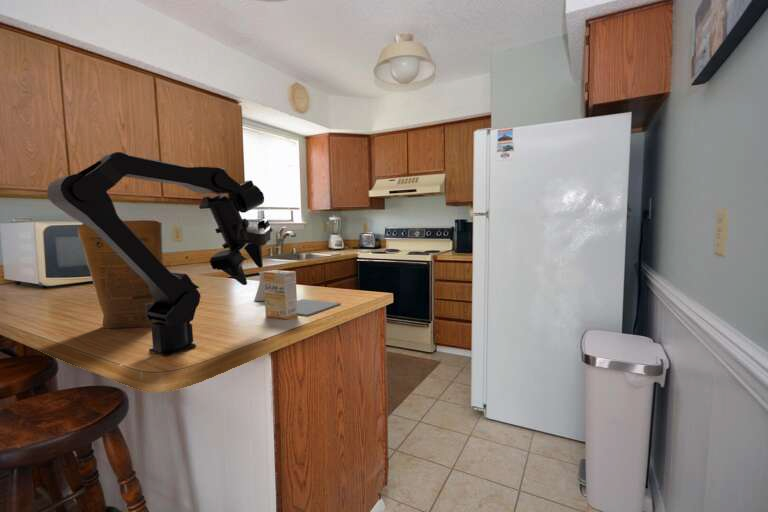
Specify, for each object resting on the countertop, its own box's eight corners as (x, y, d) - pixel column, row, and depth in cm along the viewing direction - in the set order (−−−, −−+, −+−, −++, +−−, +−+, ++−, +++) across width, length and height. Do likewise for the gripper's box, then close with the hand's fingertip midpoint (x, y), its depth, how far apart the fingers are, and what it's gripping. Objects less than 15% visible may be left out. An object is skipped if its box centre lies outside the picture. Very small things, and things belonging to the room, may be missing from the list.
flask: (260, 297, 127) (259, 270, 126) (279, 297, 126) (278, 270, 125) (250, 301, 120) (248, 273, 119) (270, 302, 119) (268, 273, 118)
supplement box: (264, 317, 98) (262, 271, 97) (277, 313, 103) (274, 269, 102) (286, 320, 95) (284, 272, 93) (298, 315, 99) (296, 270, 98)
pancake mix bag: (162, 328, 89) (154, 219, 87) (84, 331, 88) (73, 221, 86) (176, 321, 96) (168, 220, 94) (103, 324, 95) (94, 222, 92)
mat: (307, 316, 98) (307, 314, 98) (267, 310, 106) (267, 309, 105) (340, 304, 112) (340, 303, 112) (303, 300, 119) (302, 299, 119)
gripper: (240, 228, 74) (266, 290, 80) (274, 202, 90) (293, 255, 97) (195, 237, 76) (224, 296, 82) (236, 209, 92) (258, 261, 99)
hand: (253, 275), depth 90 cm, fingers open, 9 cm apart
